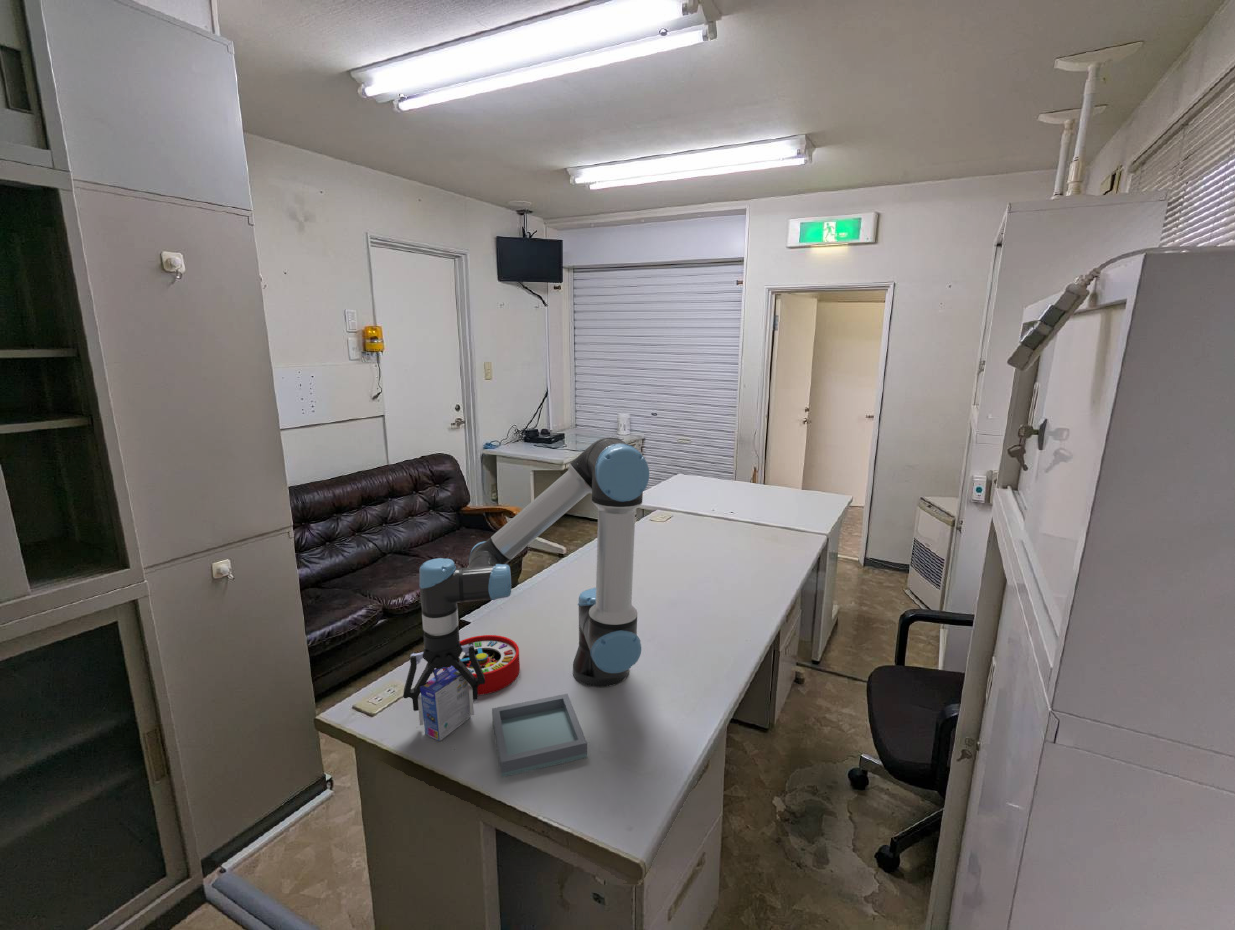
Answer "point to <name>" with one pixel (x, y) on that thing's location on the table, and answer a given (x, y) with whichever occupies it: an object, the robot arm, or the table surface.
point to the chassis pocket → (537, 734)
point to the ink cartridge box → (445, 703)
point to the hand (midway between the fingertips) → (447, 716)
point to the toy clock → (493, 661)
